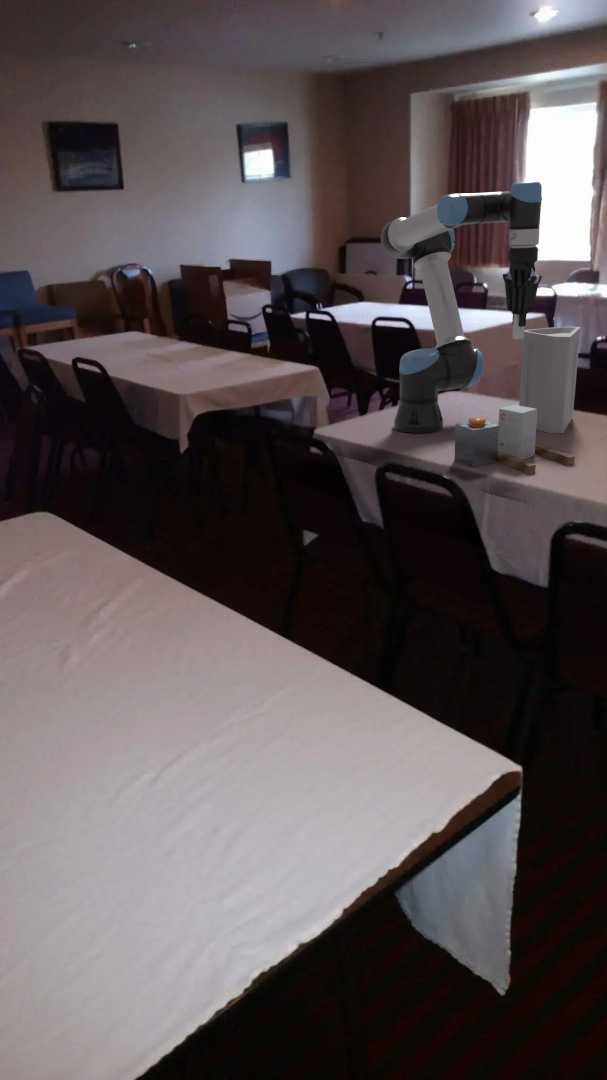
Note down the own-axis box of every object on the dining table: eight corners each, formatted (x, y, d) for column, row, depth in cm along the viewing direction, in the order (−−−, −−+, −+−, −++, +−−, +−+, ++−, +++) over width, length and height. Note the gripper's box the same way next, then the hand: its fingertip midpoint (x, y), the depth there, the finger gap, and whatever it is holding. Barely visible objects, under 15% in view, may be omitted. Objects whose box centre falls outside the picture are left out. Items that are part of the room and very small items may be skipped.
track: (479, 454, 221) (480, 447, 220) (523, 445, 226) (523, 439, 226) (528, 473, 204) (529, 466, 203) (574, 463, 210) (574, 456, 209)
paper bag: (525, 415, 258) (530, 326, 247) (573, 418, 252) (580, 326, 241) (511, 430, 242) (517, 335, 232) (562, 433, 236) (570, 336, 225)
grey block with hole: (454, 459, 217) (455, 423, 213) (478, 454, 220) (479, 419, 217) (472, 467, 211) (474, 430, 207) (497, 462, 214) (498, 425, 210)
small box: (535, 455, 217) (538, 408, 212) (520, 460, 214) (523, 413, 209) (510, 450, 223) (513, 403, 218) (496, 454, 220) (498, 408, 215)
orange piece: (464, 443, 215) (465, 418, 212) (477, 441, 216) (478, 416, 214) (474, 447, 211) (475, 422, 208) (488, 444, 213) (489, 419, 210)
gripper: (495, 246, 213) (491, 337, 222) (528, 248, 202) (523, 343, 211) (518, 245, 216) (513, 334, 225) (551, 246, 205) (545, 339, 214)
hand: (518, 338), depth 218 cm, fingers closed
